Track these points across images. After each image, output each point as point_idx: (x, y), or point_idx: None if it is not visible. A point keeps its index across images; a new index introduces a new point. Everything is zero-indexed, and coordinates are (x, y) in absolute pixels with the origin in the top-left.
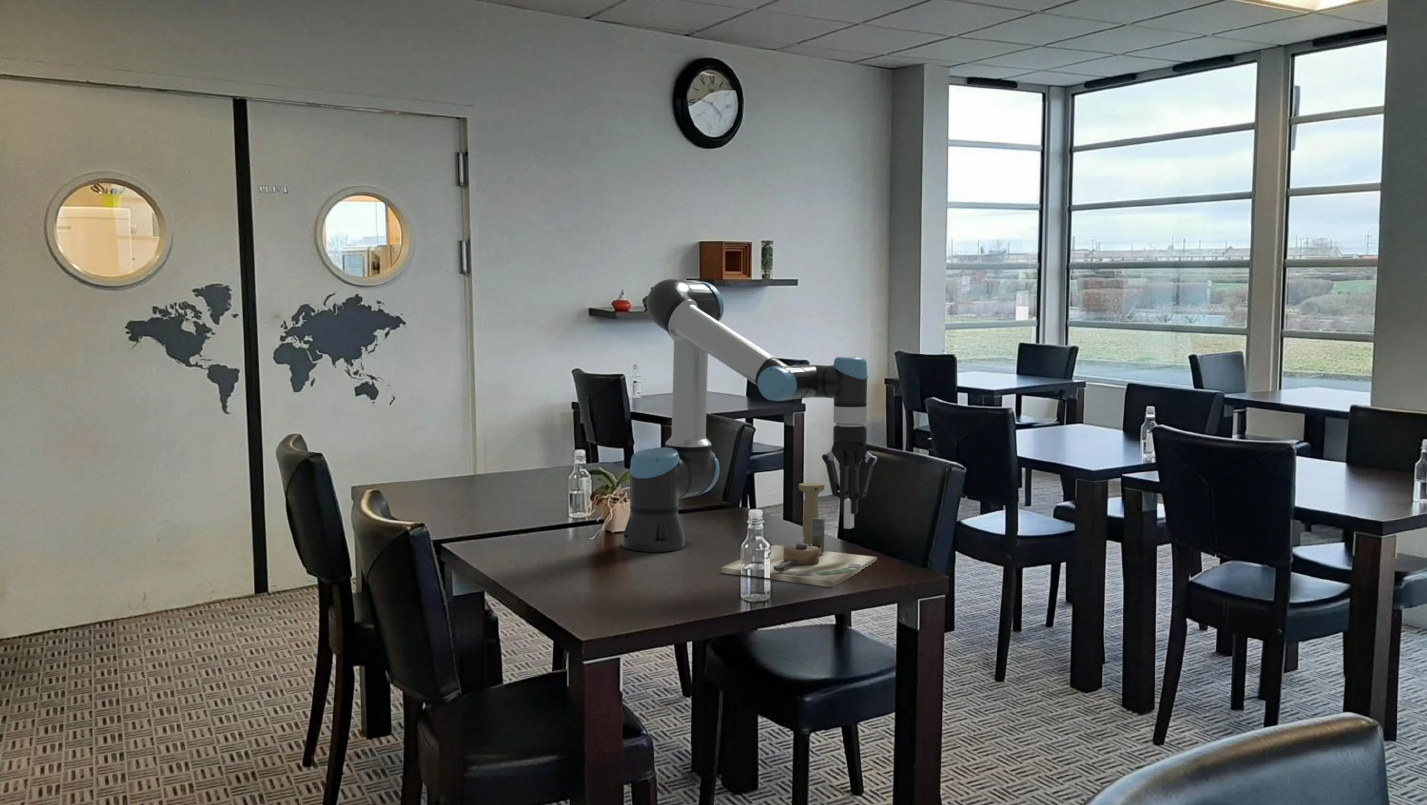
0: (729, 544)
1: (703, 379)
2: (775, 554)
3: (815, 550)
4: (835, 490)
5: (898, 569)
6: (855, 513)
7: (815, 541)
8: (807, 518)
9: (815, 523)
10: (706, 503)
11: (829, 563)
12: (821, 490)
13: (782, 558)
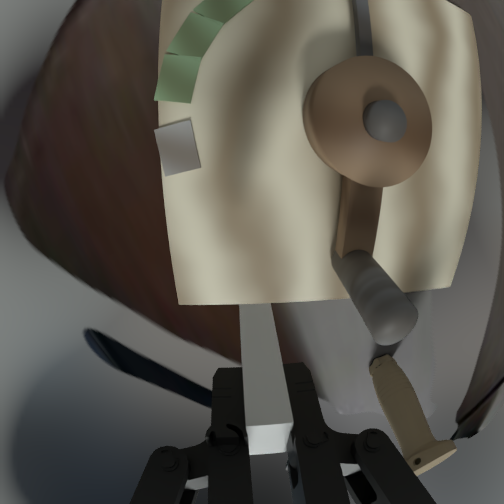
0: (499, 276)
1: None
2: (441, 191)
3: (323, 105)
4: (373, 462)
5: (100, 250)
6: (217, 371)
7: (367, 257)
8: (408, 395)
9: (399, 294)
10: (473, 416)
11: (269, 143)
12: None
13: None
